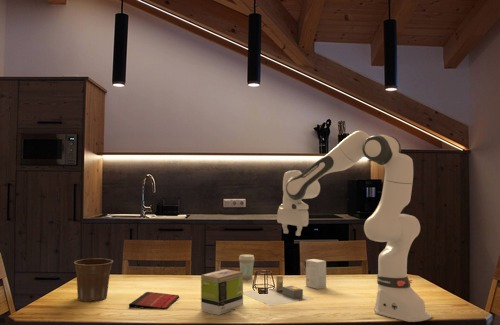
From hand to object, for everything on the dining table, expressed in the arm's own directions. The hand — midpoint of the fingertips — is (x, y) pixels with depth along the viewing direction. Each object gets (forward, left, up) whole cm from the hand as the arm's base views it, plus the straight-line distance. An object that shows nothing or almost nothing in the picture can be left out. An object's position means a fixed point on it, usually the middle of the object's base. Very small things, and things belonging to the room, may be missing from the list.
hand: (291, 234), depth 215 cm
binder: (+16, +60, -28) cm, 68 cm away
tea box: (-8, +41, -27) cm, 50 cm away
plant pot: (+35, +82, -27) cm, 93 cm away
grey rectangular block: (-10, +7, -26) cm, 28 cm away
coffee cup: (+38, +2, -27) cm, 47 cm away
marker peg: (0, +7, -26) cm, 27 cm away
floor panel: (-5, +13, -27) cm, 30 cm away
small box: (+4, -18, -27) cm, 33 cm away
